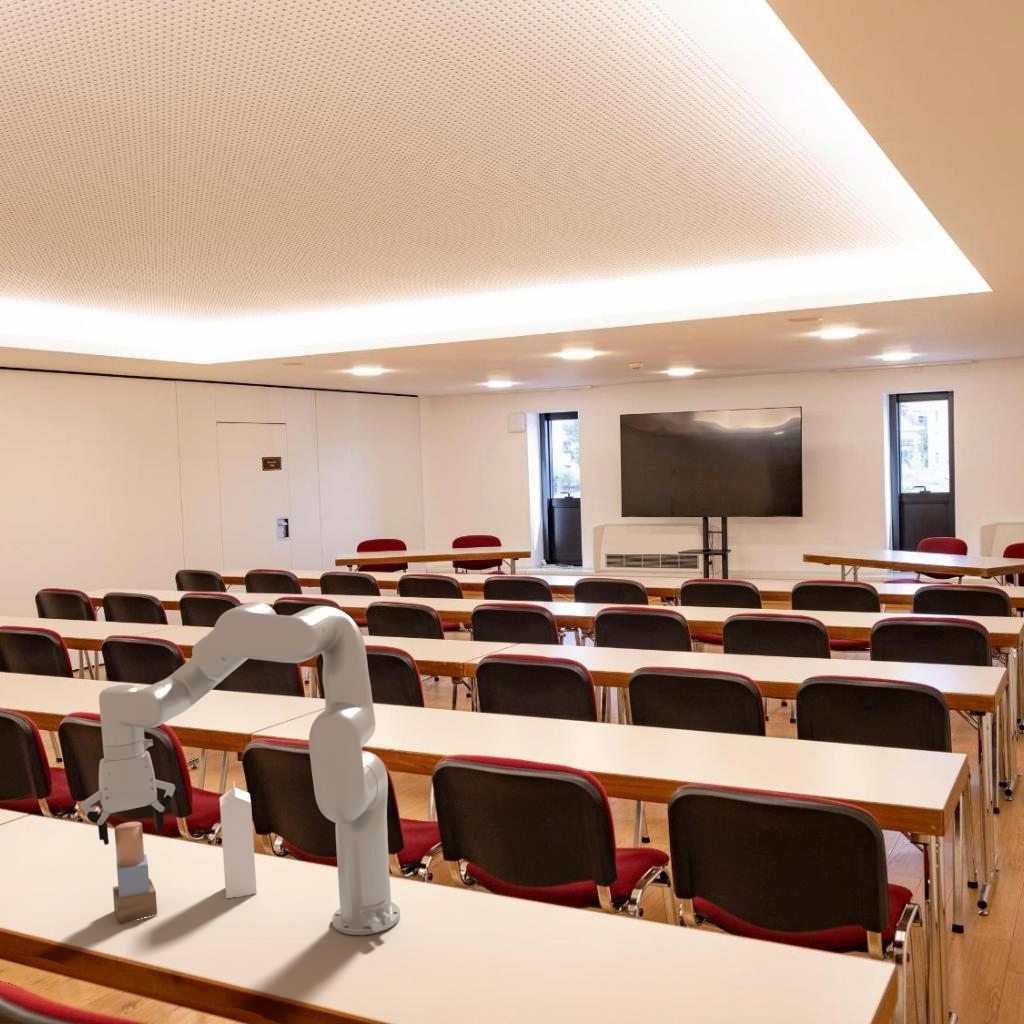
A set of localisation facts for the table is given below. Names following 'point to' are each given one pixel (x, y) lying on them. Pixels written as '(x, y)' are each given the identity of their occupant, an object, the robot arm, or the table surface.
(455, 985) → the table surface
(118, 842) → the terracotta capsule
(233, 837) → the milk
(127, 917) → the walnut base block
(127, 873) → the slate blue cube
